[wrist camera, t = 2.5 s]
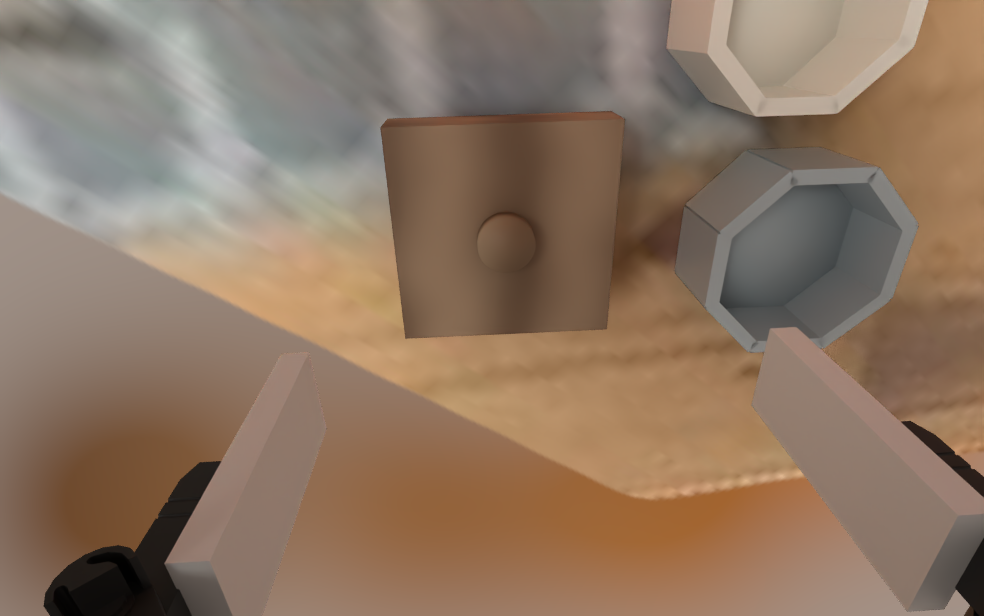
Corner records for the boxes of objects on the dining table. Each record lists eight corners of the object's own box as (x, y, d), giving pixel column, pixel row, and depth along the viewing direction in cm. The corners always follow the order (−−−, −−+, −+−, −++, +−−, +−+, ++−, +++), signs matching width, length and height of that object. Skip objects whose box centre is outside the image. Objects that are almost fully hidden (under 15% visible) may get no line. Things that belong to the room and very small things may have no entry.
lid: (409, 316, 31) (403, 348, 28) (387, 118, 26) (377, 131, 23) (596, 308, 32) (611, 338, 29) (611, 111, 26) (631, 122, 23)
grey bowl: (668, 315, 37) (695, 355, 32) (692, 151, 32) (729, 172, 27) (825, 308, 37) (874, 346, 33) (874, 145, 32) (941, 164, 27)
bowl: (659, 103, 30) (697, 118, 25) (684, -107, 26) (735, -138, 21) (825, 97, 30) (893, 111, 26) (877, -112, 26) (972, -143, 21)
